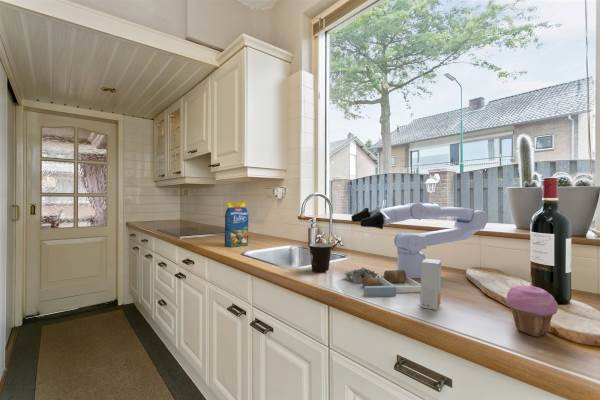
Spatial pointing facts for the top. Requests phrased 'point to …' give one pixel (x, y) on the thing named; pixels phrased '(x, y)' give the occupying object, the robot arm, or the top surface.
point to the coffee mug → (320, 257)
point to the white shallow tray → (402, 285)
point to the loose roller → (370, 281)
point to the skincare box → (430, 283)
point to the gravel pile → (359, 275)
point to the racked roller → (395, 276)
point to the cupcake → (531, 309)
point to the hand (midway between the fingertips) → (356, 220)
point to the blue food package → (236, 225)
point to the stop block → (379, 291)
